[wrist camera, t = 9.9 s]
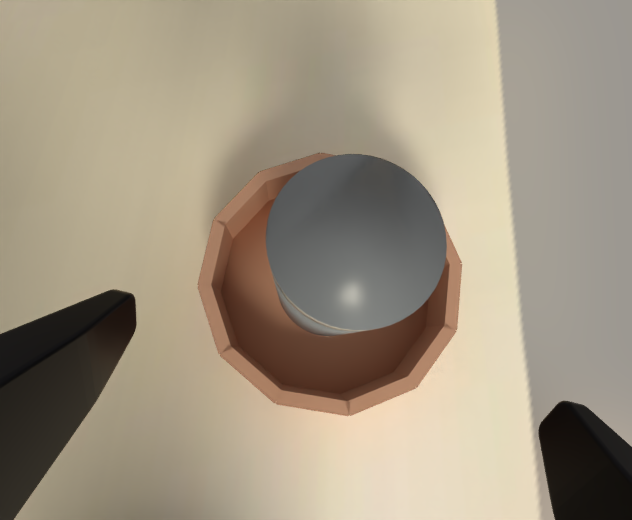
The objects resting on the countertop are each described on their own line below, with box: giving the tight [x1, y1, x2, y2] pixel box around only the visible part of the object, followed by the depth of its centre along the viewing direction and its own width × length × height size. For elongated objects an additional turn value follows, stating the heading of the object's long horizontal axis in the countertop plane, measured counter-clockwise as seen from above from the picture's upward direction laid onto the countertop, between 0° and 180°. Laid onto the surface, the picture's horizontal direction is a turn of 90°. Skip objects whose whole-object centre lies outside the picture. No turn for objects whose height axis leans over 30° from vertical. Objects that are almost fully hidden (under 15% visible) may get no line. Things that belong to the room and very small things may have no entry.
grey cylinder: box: [266, 154, 447, 336], centre depth 16 cm, size 6×6×9 cm
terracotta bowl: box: [198, 153, 462, 416], centre depth 19 cm, size 12×12×4 cm
